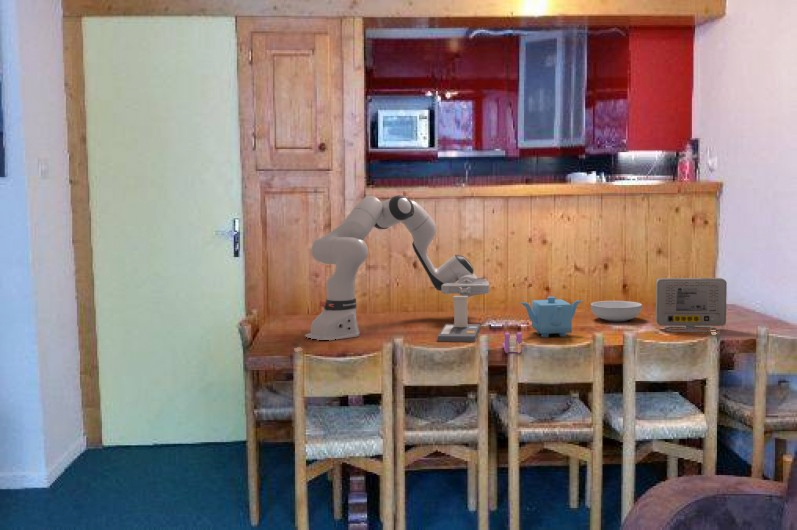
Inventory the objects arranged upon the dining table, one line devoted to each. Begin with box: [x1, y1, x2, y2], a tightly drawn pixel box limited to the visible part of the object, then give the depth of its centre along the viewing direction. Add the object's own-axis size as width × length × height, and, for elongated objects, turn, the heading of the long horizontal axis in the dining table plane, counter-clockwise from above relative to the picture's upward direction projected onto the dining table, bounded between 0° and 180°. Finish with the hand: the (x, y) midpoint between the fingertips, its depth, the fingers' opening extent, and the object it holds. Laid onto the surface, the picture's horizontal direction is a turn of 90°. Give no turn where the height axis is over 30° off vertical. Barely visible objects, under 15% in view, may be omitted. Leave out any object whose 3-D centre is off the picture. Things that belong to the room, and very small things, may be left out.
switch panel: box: [437, 323, 481, 343], centre depth 323 cm, size 26×14×2 cm, turn 170°
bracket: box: [502, 331, 523, 354], centre depth 293 cm, size 13×6×7 cm, turn 179°
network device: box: [655, 277, 728, 333], centre depth 320 cm, size 26×9×20 cm, turn 80°
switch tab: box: [452, 295, 469, 327], centre depth 327 cm, size 3×6×12 cm, turn 80°
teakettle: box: [520, 296, 584, 338], centre depth 317 cm, size 19×19×15 cm
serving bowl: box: [590, 300, 643, 323], centre depth 347 cm, size 21×21×7 cm
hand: (464, 291), depth 339 cm, fingers closed
